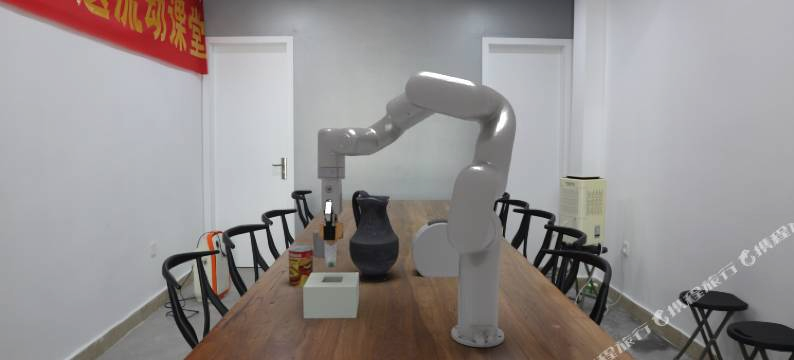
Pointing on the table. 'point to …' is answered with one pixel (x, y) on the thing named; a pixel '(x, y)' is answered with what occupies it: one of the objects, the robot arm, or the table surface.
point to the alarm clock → (434, 251)
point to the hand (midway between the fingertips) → (331, 236)
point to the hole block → (331, 295)
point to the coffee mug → (318, 245)
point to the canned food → (300, 265)
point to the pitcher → (372, 237)
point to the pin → (331, 244)
